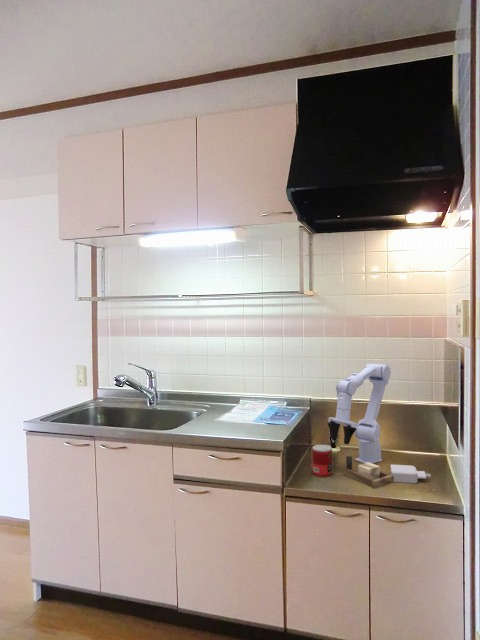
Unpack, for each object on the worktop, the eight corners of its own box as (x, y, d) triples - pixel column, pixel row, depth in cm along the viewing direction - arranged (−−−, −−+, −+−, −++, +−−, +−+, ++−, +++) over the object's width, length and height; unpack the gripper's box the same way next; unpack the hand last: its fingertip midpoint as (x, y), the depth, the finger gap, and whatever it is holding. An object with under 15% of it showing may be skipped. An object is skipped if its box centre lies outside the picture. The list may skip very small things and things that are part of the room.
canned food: (332, 477, 191) (331, 450, 191) (312, 476, 193) (311, 450, 192) (332, 470, 199) (331, 445, 198) (313, 469, 200) (312, 444, 200)
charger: (432, 485, 181) (391, 483, 185) (429, 477, 190) (390, 474, 194) (432, 473, 181) (391, 471, 185) (428, 465, 190) (390, 463, 194)
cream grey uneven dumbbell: (352, 467, 201) (352, 454, 201) (379, 478, 188) (379, 465, 188) (342, 470, 198) (341, 457, 197) (369, 482, 185) (369, 468, 184)
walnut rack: (362, 469, 199) (362, 463, 199) (394, 481, 185) (394, 475, 185) (344, 475, 193) (344, 469, 193) (374, 488, 179) (374, 481, 179)
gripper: (324, 406, 201) (321, 438, 199) (349, 411, 188) (345, 445, 187) (336, 407, 204) (333, 438, 203) (361, 412, 192) (358, 446, 191)
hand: (339, 442), depth 195 cm, fingers open, 7 cm apart
